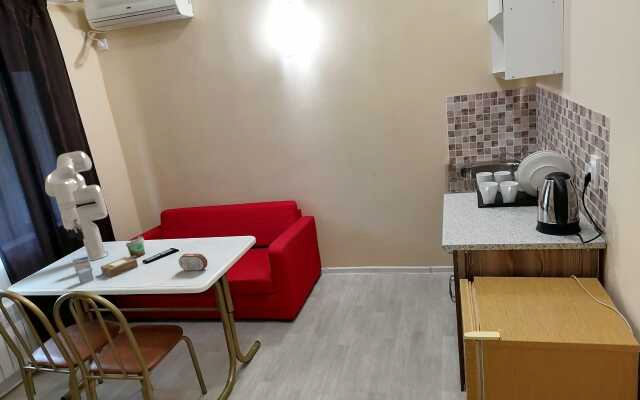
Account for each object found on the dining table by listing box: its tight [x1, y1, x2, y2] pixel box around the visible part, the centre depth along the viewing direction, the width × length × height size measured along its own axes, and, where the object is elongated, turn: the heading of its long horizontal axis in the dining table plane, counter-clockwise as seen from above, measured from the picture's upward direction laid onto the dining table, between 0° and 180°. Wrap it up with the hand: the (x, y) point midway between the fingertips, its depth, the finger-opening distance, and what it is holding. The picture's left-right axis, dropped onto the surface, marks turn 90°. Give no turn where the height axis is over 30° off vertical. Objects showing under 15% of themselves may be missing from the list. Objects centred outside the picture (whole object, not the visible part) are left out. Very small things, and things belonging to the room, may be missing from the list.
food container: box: [125, 235, 146, 259], centre depth 264 cm, size 12×6×10 cm, turn 168°
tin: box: [178, 253, 209, 272], centre depth 226 cm, size 15×3×8 cm, turn 71°
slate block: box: [76, 268, 95, 285], centre depth 235 cm, size 5×5×6 cm
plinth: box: [100, 256, 139, 278], centre depth 244 cm, size 12×14×4 cm
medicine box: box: [72, 254, 93, 276], centre depth 250 cm, size 8×4×9 cm, turn 118°
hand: (77, 238), depth 231 cm, fingers open, 9 cm apart
